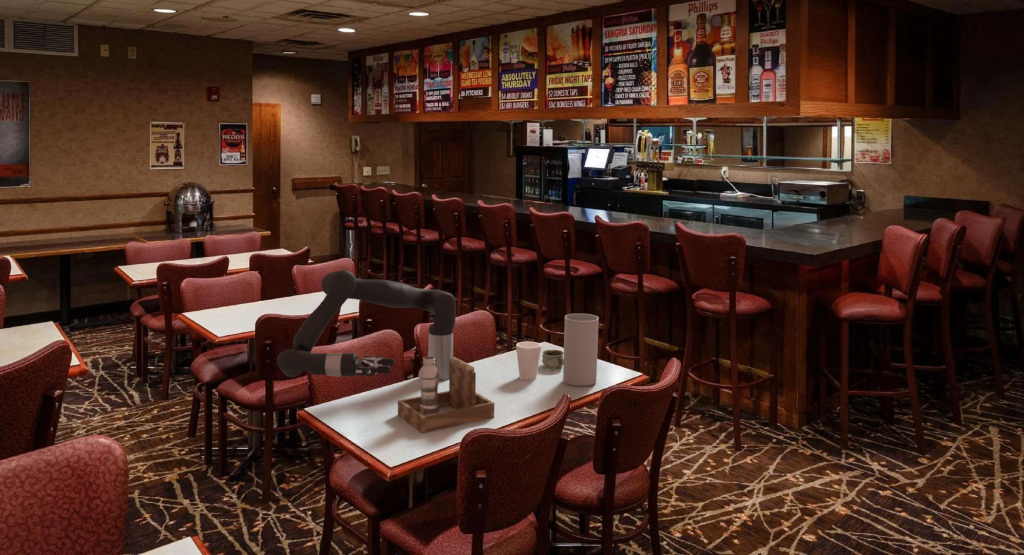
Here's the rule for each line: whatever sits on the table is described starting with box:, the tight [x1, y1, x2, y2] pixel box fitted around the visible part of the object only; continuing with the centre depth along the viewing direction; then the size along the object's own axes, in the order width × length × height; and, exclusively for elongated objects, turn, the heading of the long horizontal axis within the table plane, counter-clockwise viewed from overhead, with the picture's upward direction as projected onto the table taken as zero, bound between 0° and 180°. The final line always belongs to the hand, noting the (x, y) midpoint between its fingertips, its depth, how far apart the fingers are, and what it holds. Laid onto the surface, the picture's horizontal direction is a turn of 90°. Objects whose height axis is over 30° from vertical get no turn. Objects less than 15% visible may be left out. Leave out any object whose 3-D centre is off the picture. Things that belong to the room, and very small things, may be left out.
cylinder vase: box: [562, 313, 600, 388], centre depth 281 cm, size 12×12×25 cm
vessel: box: [541, 349, 564, 371], centre depth 300 cm, size 12×9×6 cm
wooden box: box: [397, 356, 495, 434], centre depth 244 cm, size 18×26×18 cm
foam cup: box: [515, 341, 542, 381], centre depth 286 cm, size 10×9×13 cm
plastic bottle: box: [418, 356, 441, 416], centre depth 243 cm, size 6×7×20 cm
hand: (392, 366), depth 241 cm, fingers open, 8 cm apart
